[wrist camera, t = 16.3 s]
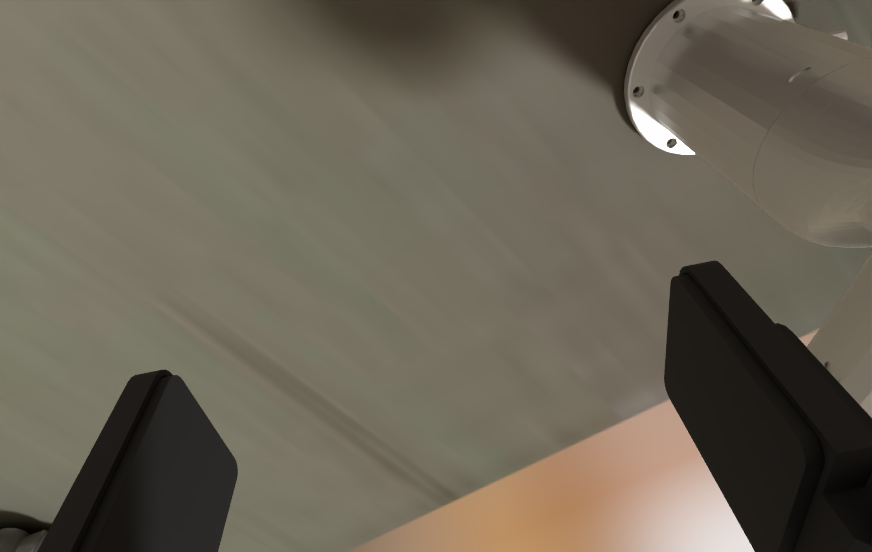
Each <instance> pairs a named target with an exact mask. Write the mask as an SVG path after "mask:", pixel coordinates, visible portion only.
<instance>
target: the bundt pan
mask: <svg viewBox="0 0 872 552" xmlns="http://www.w3.org/2000/svg"><path fill="white" fill-rule="evenodd" d="M47 532H48V531H47V530H42V531H40V532H37V533H34V534H31V535H29V533H28V532H26V531H24V530H22V529H18V528H4V529H0V552H37V551H38V549H39V547H40V546H41V544H42V542H43V540H44V538H45V536H46V534H47Z"/></svg>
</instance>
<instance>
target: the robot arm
mask: <svg viewBox="0 0 872 552" xmlns="http://www.w3.org/2000/svg"><path fill="white" fill-rule="evenodd" d="M676 11H677V14H676V16H675V17H673V15H674V13H675V12H676ZM636 87H637V89H636V91H633V90H634V89H635V88H636ZM624 98H625V105H626V110H627V113H628V115H629V118H630V121H631V123H632V124H633V126H634V127H635V128H636V130H637V131H638V133H639V134H640V135H641V136H642V137H643V138H644V139H645V140H646V141H648V142H649V143H651V144H652V145H653V146H655V147H656V148H658V149H661V150H663V151H665V152H668V153H674V154H680V155H698V156H699V157H700V158H701V159H702V160H703V161H705V162H706V163H707V164H708V165H709V166H710V167H712V168H713V169H714V170H715V171H716V172H718V173H719V174H720V175H721V176H722V177H723V178H725V179H726V180H727V181H728V182H729V183H731V184H732V185H733V186H734V187H735V188H736V189H738V190H739V191H740V192H741V193H742V194H744V195H745V196H746V197H747V198H748V199H749V200H751V201H752V202H753V203H754V204H755V205H757V206H758V207H759V208H760V209H761V210H762V211H764V212H765V213H766V214H767V215H769V216H770V217H771V218H772V219H773V220H774V221H776V222H777V223H778V224H779V225H781V226H782V227H783V228H784V229H786V230H787V231H789V232H790V233H792V234H794V235H796V236H798V237H800V238H802V239H805V240H807V241H810V242H814V243H818V244H822V245H827V246H834V247H853V248H859V247H872V48H870V47H867V46H864V45H861V44H858V43H855V42H852V41H848V40H847V34H846V32H845V31H844V30H836V31H832V32H827V33H823V32H820V31H817V30H814V29H811V28H808V27H805V26H801V25H798V24H795V20H794V18H793V15H792V13H791V11H790V8H789V7H788V6H787V4H786V3H785V2H784V1H783V0H674V1H673V2H671V3H670V4H669V5H668V6H667V7H666V8H665V9H664V10H662V11H661V12H660V13H659V14H658V15H657V16H656V17H655V19H654V20H653V21H652V22H651V23H650V25H649V26H648V27H647V28H646V29H645V31H644V33H643V34H642V36H641V37H640V39H639V41H638V42H637V44H636V46H635V48H634V51H633V53H632V55H631V58H630V60H629V63H628V67H627V71H626V76H625V84H624ZM668 140H669V141H668ZM664 382H665V387H666V391H667V394H668V396H669V398H670V400H671V402H672V403H673V405H674V407H675V409H676V411H677V412H678V414H679V416H680V418H681V420H682V421H683V423H684V425H685V427H686V428H687V430H688V432H689V434H690V436H691V438H692V439H693V441H694V443H695V444H696V447H697V448H698V450H699V452H700V454H701V455H702V457H703V459H704V461H705V463H706V465H707V466H708V468H709V470H710V472H711V474H712V475H713V477H714V479H715V481H716V482H717V484H718V486H719V488H720V490H721V491H722V493H723V495H724V497H725V499H726V500H727V502H728V504H729V506H730V508H731V509H732V511H733V513H734V515H735V517H736V518H737V520H738V522H739V524H740V525H741V527H742V529H743V531H744V533H745V535H746V536H747V538H748V540H749V542H750V544H751V545H752V547H753V549H754V551H755V552H872V252H871V254H870V255H869V257H868V258H867V260H866V261H865V263H864V264H863V266H862V267H861V269H860V270H859V272H858V273H857V275H856V276H855V277H854V279H853V282H852V284H851V286H850V287H849V288H848V290H847V291H846V293H845V294H844V295H843V297H842V298H841V300H840V301H839V302H838V304H837V305H836V307H835V308H834V309H833V311H832V312H831V314H830V315H829V316H828V318H827V319H826V321H825V322H824V323H823V325H822V326H821V328H820V329H819V330H818V332H817V333H816V335H815V336H814V337H813V339H812V340H811V342H810V344H808V346H807V347H806V346H805V345H804V344H803V343H802V342H801V341H800V340H799V339H798V337H797V336H796V335H795V334H794V333H793V332H792V331H791V330H789V329H788V328H787V327H786V326H784V325H782V324H779V323H777V324H775V323H774V322H773V321H772V320H771V319H770V318H769V317H768V316H767V315H766V313H765V312H764V311H763V310H762V309H761V308H760V307H759V306H758V305H757V303H756V302H755V301H754V300H753V299H752V298H751V297H750V296H749V295H748V293H747V292H746V291H745V290H744V289H743V288H742V287H741V286H740V285H739V283H738V282H737V281H736V280H735V279H734V278H733V277H732V276H731V275H730V273H729V272H728V271H727V270H726V269H725V268H724V267H723V266H722V265H721V264H720V263H719V262H718V261H710V262H705V263H700V264H695V265H690V266H685V267H683V268H682V269H681V270H680V274H679V276H675V277H673V278H672V280H671V286H670V300H669V315H668V330H667V344H666V359H665V374H664ZM237 475H238V469H237V463H236V460H235V458H234V457H233V455H232V454H231V452H230V451H229V449H228V448H227V446H226V445H225V443H224V442H223V440H222V439H221V437H220V436H219V434H218V433H217V431H216V430H215V428H214V427H213V425H212V423H211V422H210V420H209V419H208V417H207V416H206V414H205V413H204V411H203V410H202V408H201V407H200V405H199V404H198V402H197V401H196V399H195V398H194V396H193V395H192V393H191V392H190V390H189V389H188V387H187V386H186V384H185V383H184V381H183V380H182V379H181V378H180V377H179V376H177V375H172V374H171V373H170V372H169V371H167V370H159V371H154V372H149V373H144V374H139V375H135V376H133V377H131V379H130V380H129V381H128V383H127V385H126V387H125V388H124V390H123V392H122V394H121V396H120V398H119V400H118V402H117V403H116V405H115V407H114V409H113V411H112V413H111V415H110V416H109V418H108V420H107V422H106V424H105V426H104V428H103V430H102V431H101V433H100V435H99V437H98V439H97V441H96V443H95V445H94V446H93V448H92V450H91V452H90V454H89V456H88V458H87V460H86V461H85V463H84V465H83V467H82V469H81V471H80V473H79V474H78V476H77V478H76V480H75V482H74V484H73V486H72V488H71V489H70V491H69V493H68V495H67V497H66V499H65V501H64V503H63V504H62V506H61V508H60V510H59V512H58V514H57V516H56V518H55V519H54V521H53V523H52V525H51V527H50V529H49V531H48V532H47V534H46V536H45V538H44V540H43V542H42V544H41V546H40V547H39V549H38V551H37V552H218V549H219V545H220V542H221V538H222V534H223V530H224V526H225V522H226V518H227V515H228V511H229V507H230V503H231V499H232V495H233V491H234V488H235V484H236V480H237Z"/></svg>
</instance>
